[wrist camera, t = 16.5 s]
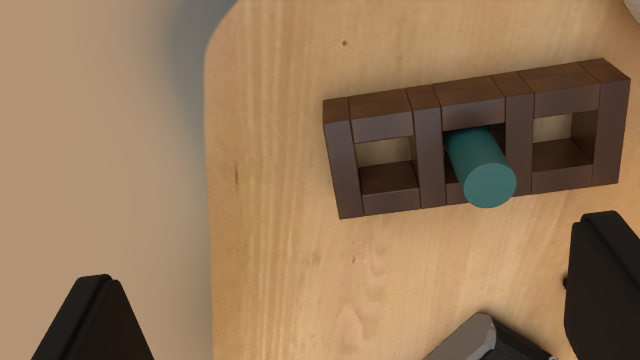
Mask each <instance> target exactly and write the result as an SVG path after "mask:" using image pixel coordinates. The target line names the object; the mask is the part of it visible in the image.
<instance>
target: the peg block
mask: <svg viewBox="0 0 640 360" xmlns="http://www.w3.org/2000/svg"><path fill="white" fill-rule="evenodd" d="M630 82H631V79H630V78H629V77H628V76H626V75H625V74H624V73H622V72H621V71H620V70H618V69H617V68H616V67H614V66H613V65H612V64H610V63H609V62H607V61H606V60H605V59H603V58H601V59H595V60H588V61H581V62H575V63H568V64H562V65H555V66H548V67H542V68H535V69H528V70H522V71H516V72H509V73H502V74H496V75H490V76H483V77H476V78H469V79H463V80H456V81H449V82H443V83H436V84H431V85H430V84H429V85H423V86H416V87H410V88H405V89H404V88H403V89H397V90H390V91H383V92H377V93H370V94H363V95H357V96H350V97H343V98H336V99H330V100H324V101H323V130H324V135H325V141H326V147H327V152H328V158H329V163H330V169H331V175H332V180H333V186H334V192H335V197H336V203H337V209H338V214H339V219H348V218H356V217H363V216H364V215H365V216H371V215H378V214H386V213H394V212H401V211H409V210H416V209H420V208H421V209H425V208H432V207H440V206H446V205H455V204H463V203H470V202H469V201H468V200H467V199H466V198H465V196H464V193H463V191H462V188H461V186H460V183H459V181H458V179H457V176H456V174H455V171H454V169H453V166H452V164H451V161H450V159H449V156H444V150H443V133H442V131H450V130H457V129H464V128H471V127H478V126H485V125H490V132H491V134H492V136H493V137H494V139H495V141H496V143H497V144H498V146H499V148H500V149H501V151H502V153H503V154H504V156H505V158H506V159H507V161H508V163H509V164H510V166H511V168H512V170H513V171H514V173H515V175H516V178H517V186H516V189H515V192H514V193H513V195H512V196H511V197H517V196H524V195H531V194H532V195H533V194H541V193H549V192H556V191H564V190H571V189H579V188H587V187H594V186H602V185H609V184H617V183H618V179H619V171H620V163H621V155H622V147H623V138H624V130H625V122H626V114H627V106H628V98H629V90H630ZM570 113H573V115H572V129H571V138H569V139H562V140H554V141H547V142H540V143H533V122H534V118H542V117H549V116H556V115H563V114H570ZM407 136H409V138H410V149H411V160H412V162H411V161H405V162H398V163H391V164H383V165H376V166H369V167H362V168H359V169H358V162H357V155H356V148H355V144H358V143H365V142H372V141H379V140H386V139H393V138H400V137H407Z"/></svg>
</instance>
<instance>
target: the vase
mask: <svg viewBox="0 0 640 360" xmlns="http://www.w3.org/2000/svg"><path fill="white" fill-rule="evenodd" d="M623 2H624V4H625V5H626V7H627V9H628V10H629V12H630V13H631V15H632V16H633V17H634V18H635V19H636V21H637V22H638V23H639V24H640V0H623Z"/></svg>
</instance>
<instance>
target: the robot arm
mask: <svg viewBox="0 0 640 360" xmlns="http://www.w3.org/2000/svg"><path fill="white" fill-rule="evenodd" d="M564 328H565V332H566V336H567V338H568V340H569V342H570V344H571V346H572V348H573V350H574V352H575V354H576V356H577V358H578V360H640V239H639V238H638V236H637V235H636V234H635V233H634V232H633V230H632V229H631V228H630V227H629V226H628V224H627V223H626V222H625V221H624V219H623V218H622V217H621V216H620V215H619V214H618V213H617V212H616V211H613V210H611V211H603V212H596V213H588V214H584V215H582V217H581V220H580V222H575V223H573V225H572V232H571V243H570V255H569V266H568V278H567V289H566V300H565V312H564ZM31 360H154V358H153V356H152V353H151V351H150V349H149V347H148V344H147V342H146V340H145V337H144V335H143V333H142V331H141V328H140V326H139V324H138V321H137V319H136V317H135V315H134V313H133V310H132V308H131V306H130V303H129V301H128V299H127V296H126V294H125V292H124V290H123V287H122V285H121V283H120V282H119V281H118V280H113V279H112V278H111V276H109V275H108V274H102V275H93V276H85V277H80V278H78V279H77V280H76V282H75V284H74V285H73V287H72V289H71V290H70V292H69V294H68V296H67V297H66V299H65V301H64V303H63V305H62V306H61V308H60V310H59V312H58V313H57V315H56V317H55V318H54V320H53V322H52V324H51V325H50V327H49V329H48V331H47V332H46V334H45V336H44V338H43V339H42V341H41V343H40V345H39V346H38V348H37V350H36V352H35V353H34V355H33V357H32V359H31Z"/></svg>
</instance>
